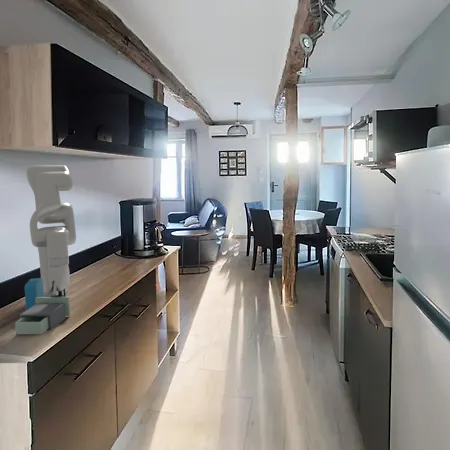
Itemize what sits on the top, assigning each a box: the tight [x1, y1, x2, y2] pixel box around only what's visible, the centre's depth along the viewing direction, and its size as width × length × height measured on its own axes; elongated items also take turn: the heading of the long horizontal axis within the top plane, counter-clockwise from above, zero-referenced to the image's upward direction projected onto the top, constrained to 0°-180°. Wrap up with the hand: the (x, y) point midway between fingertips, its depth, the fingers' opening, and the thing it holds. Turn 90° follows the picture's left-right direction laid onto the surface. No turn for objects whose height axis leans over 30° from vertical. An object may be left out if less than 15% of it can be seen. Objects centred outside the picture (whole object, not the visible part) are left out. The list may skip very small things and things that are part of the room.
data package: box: [24, 277, 44, 311], centre depth 162 cm, size 12×4×12 cm, turn 14°
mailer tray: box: [14, 296, 71, 335], centre depth 144 cm, size 19×13×8 cm
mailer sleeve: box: [19, 303, 67, 331], centre depth 145 cm, size 12×11×6 cm
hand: (62, 305), depth 156 cm, fingers closed
